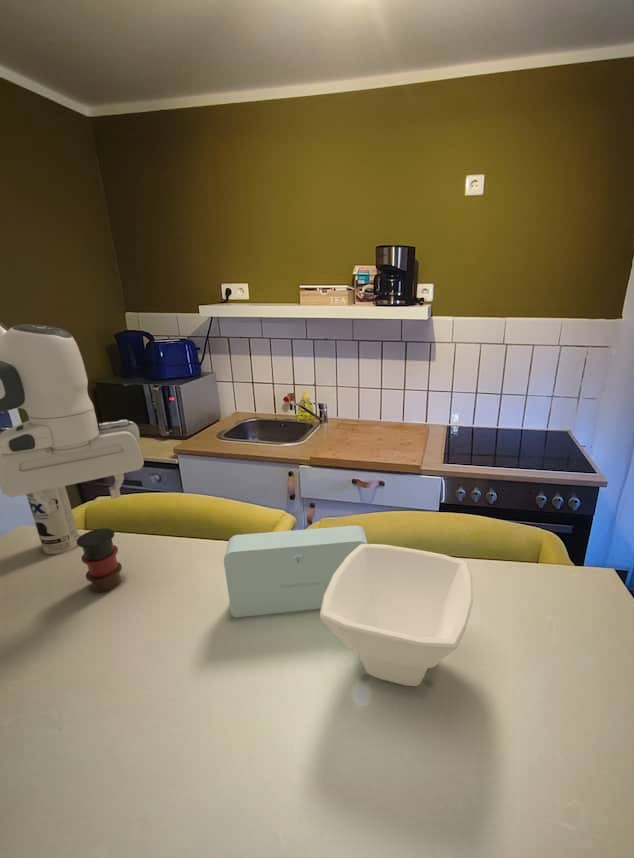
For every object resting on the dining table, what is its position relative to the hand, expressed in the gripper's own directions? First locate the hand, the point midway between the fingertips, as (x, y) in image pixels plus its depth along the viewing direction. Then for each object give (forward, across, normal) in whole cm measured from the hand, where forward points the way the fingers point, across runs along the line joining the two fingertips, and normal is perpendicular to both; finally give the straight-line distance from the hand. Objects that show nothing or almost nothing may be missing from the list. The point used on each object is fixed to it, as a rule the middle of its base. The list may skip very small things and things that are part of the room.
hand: (85, 504), depth 74 cm
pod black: (+10, 0, 0) cm, 10 cm away
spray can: (+18, +6, -21) cm, 28 cm away
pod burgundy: (+14, 0, 0) cm, 14 cm away
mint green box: (+17, -27, +26) cm, 42 cm away
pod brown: (+17, 0, 0) cm, 17 cm away
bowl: (+17, -32, +46) cm, 59 cm away
